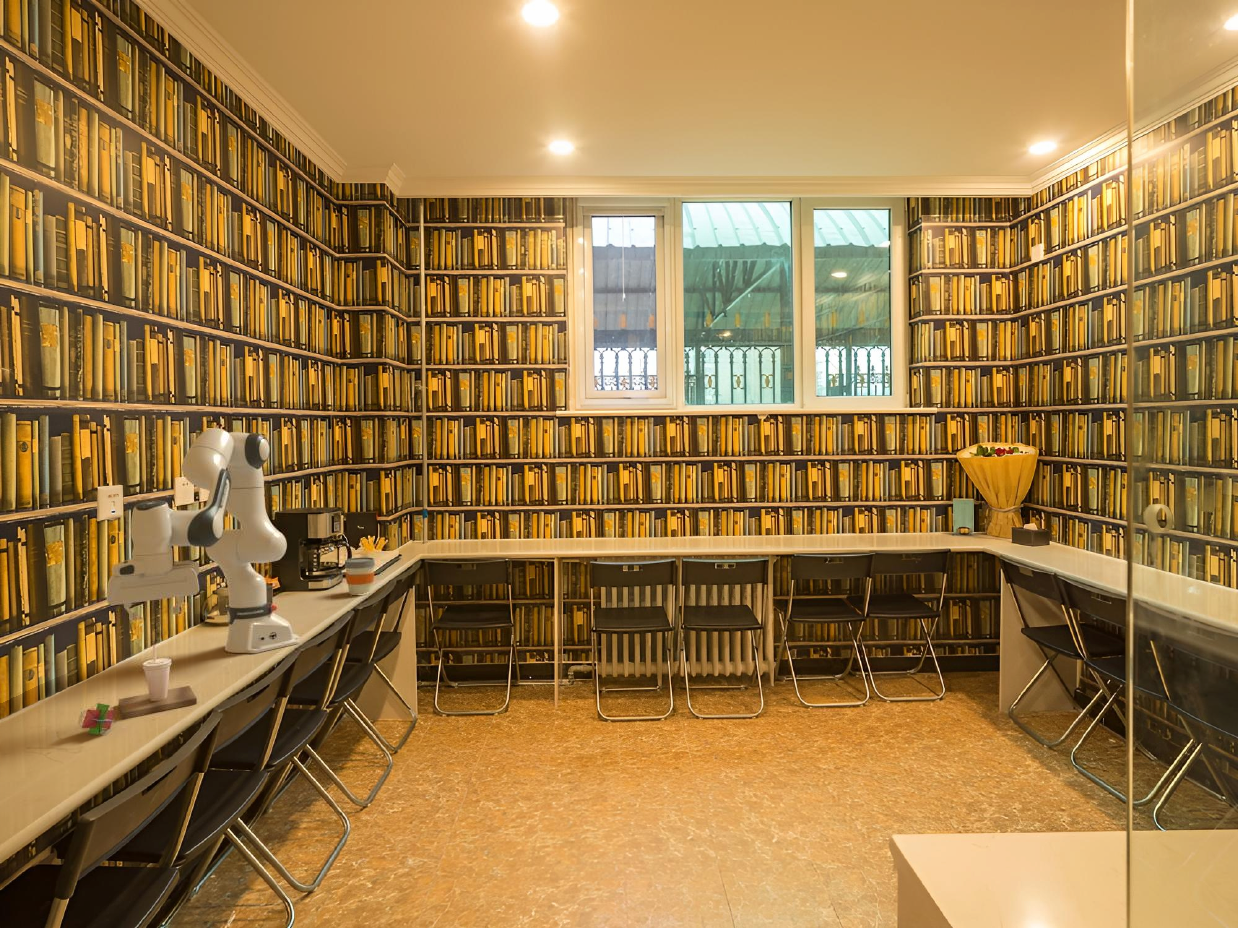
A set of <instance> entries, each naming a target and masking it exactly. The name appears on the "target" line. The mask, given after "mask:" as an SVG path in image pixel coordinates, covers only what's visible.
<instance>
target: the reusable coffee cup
mask: <svg viewBox="0 0 1238 928" xmlns="http://www.w3.org/2000/svg"><path fill="white" fill-rule="evenodd" d="M375 566H376V563H375V558H373V557H367V556H366V557H364V556H363V557H361V556H360V557H352V558H347V559H345V561H344V568H345V579H346V585H348V592H349V595H350V594H352V595H358V594H364V593H367V592H370V591H371V592H372V587H373V583H374V578H375ZM352 595H351V596H352Z"/></svg>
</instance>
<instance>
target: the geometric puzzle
mask: <svg viewBox="0 0 1238 928" xmlns="http://www.w3.org/2000/svg"><path fill="white" fill-rule="evenodd" d="M96 705H97V706H96V708H94V707H91V708H88V709H86V710H83V711H81V713H80V715H79V717H78V722H77V724H78V726H79V727H80V728H81V729H82V730H83V731H85V732H87V734H92V735H97V736H99V737H100V736H101V734H102V733H101V732H102V731H103V730H104V732H106V731H108V730H109V729H111V727H112V726H113V725H114V723H113V722H115V723H116V722H117V721H118V720H117V718H116V716H115V715H116V711H117V710H116V709H114V708H112V709H110V707H111V705H110V704H104V703H100V702H97V703H96ZM83 718H84V720H83ZM114 719H115V720H114ZM88 729H89V730H88Z"/></svg>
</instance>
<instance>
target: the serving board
mask: <svg viewBox="0 0 1238 928" xmlns="http://www.w3.org/2000/svg"><path fill="white" fill-rule="evenodd" d="M197 701H198V700H197V697H196V695H195V692H194V691H193V690H192V688H191V687H190V685H185V686H180V687H175V688H172V689H168V692H167V698H165V699H163V700H159V701H151V700H150V696H149V693H145V694H140V695H134V696H129V697H125V698H124V697H123V698H119V699H118V708H119V707H120V708H119V712H120V714H121V718H122V720H126V719H129V718H128V717H130V718H135V717H138V716H137V715H140V716H144V715H143V714H145V715H149V714H154V712H155V713H158V712H164V711H168V710H169V711H170V710H174V709H178V708H182V707H188V706H192V704H193V705H197ZM163 710H164V711H163ZM134 716H135V717H134Z"/></svg>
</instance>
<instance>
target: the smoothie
mask: <svg viewBox="0 0 1238 928" xmlns="http://www.w3.org/2000/svg"><path fill="white" fill-rule="evenodd" d="M156 649H157V648H156V645H155V644H154V645H152V651H153V652H152V654H153V658H152V659H150V660H147V661H144V662H143V663H142V669H143V670H144V675H145V679H146V685H147V686H146V687H147V690H148V694H149V696H150V700H151V701H159V700H163V699H165V698H167V692H168V690H169V682H170V681H169V680H170V679H169V677H170V670H171V665H172V663H173V662H172V659H170V658H168V657H167V658H166V657H162V658H157V650H156Z"/></svg>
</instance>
